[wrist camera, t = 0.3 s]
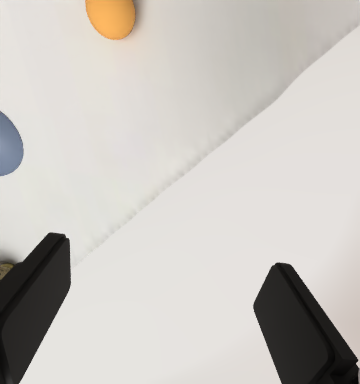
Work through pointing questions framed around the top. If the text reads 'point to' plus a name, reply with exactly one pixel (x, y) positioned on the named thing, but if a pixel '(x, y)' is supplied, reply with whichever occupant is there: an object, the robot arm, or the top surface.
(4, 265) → the cup
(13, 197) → the top surface
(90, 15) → the ball
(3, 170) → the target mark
